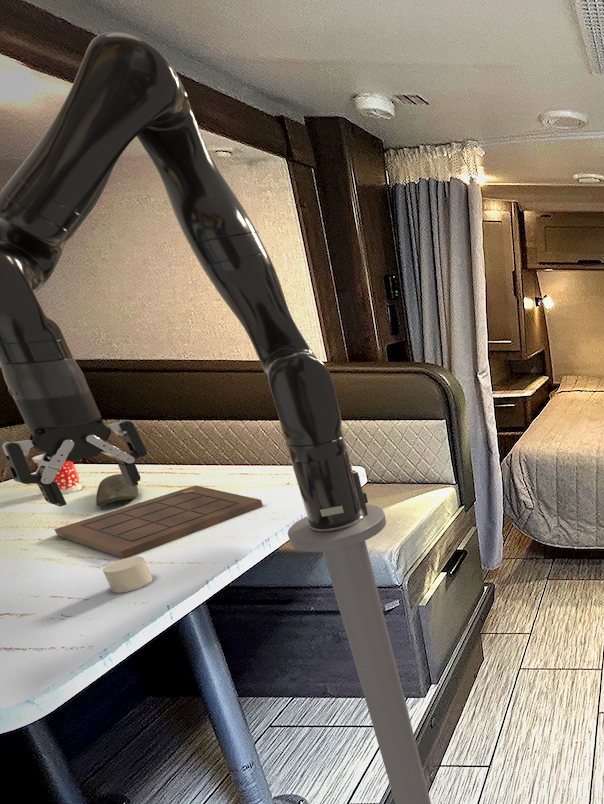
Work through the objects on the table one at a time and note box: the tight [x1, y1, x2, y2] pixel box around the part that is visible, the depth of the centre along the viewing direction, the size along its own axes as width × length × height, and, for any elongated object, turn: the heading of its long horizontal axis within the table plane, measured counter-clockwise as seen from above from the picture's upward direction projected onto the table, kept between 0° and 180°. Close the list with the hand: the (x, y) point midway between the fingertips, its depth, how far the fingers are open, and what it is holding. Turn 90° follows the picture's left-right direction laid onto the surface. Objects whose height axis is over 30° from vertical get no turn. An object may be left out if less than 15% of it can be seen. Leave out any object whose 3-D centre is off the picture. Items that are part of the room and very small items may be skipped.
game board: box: [54, 485, 264, 559], centre depth 103 cm, size 24×24×2 cm
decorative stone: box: [95, 473, 139, 507], centre depth 115 cm, size 17×6×4 cm, turn 42°
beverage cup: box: [31, 453, 83, 495], centre depth 118 cm, size 6×6×14 cm
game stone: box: [102, 556, 154, 594], centre depth 80 cm, size 5×5×4 cm
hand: (98, 494), depth 78 cm, fingers open, 8 cm apart
